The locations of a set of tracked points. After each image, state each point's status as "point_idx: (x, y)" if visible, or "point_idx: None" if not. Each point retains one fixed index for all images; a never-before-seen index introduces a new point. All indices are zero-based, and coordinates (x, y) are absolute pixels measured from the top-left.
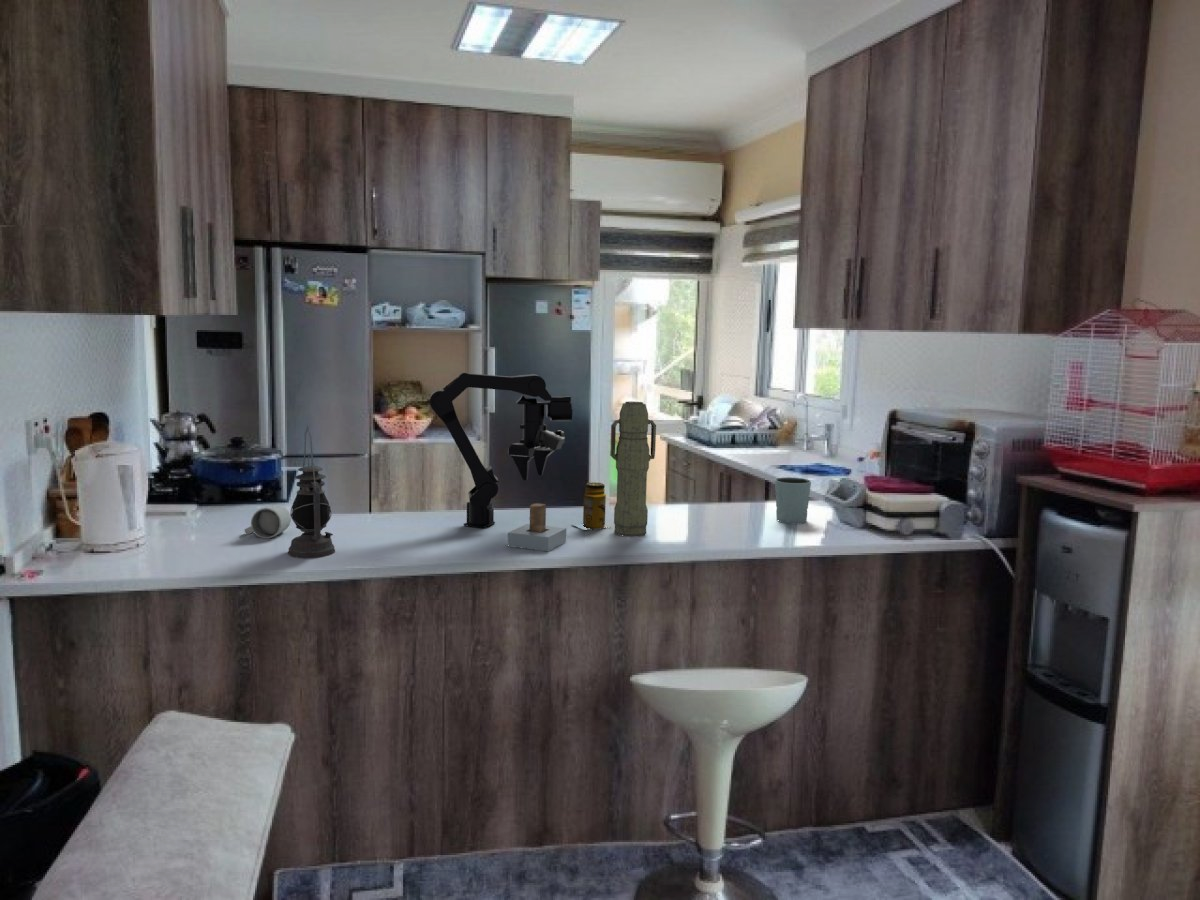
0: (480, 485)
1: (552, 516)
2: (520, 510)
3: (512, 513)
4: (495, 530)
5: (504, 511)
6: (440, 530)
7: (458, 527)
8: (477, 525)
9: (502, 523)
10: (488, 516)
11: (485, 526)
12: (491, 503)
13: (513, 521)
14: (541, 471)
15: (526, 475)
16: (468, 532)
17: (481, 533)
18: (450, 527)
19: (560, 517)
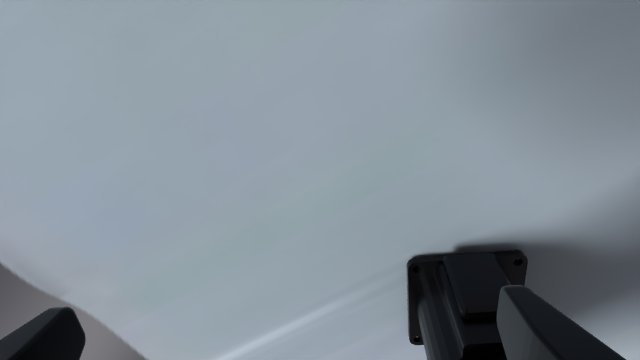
0: None
1: (70, 117)
2: (93, 302)
3: (169, 300)
4: (537, 190)
5: (162, 339)
6: None
7: None
8: (521, 284)
9: (378, 237)
10: (509, 282)
11: (513, 253)
12: (478, 341)
13: (310, 219)
14: (41, 348)
15: (580, 329)
16: (622, 263)
17: (625, 210)
18: None
19: (52, 64)
